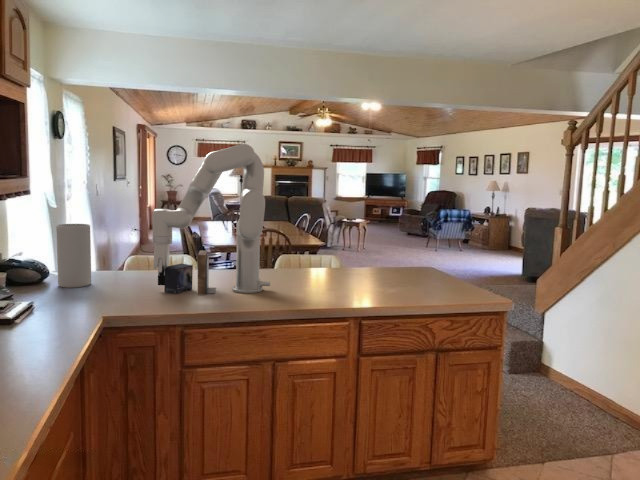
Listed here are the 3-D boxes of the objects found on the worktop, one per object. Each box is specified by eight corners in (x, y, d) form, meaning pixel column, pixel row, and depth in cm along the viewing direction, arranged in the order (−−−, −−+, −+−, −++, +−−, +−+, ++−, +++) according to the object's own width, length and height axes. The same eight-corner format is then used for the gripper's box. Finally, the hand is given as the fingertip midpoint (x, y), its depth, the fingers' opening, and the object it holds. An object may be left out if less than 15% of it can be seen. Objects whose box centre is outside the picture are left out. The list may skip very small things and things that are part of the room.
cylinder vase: (78, 289, 204) (76, 227, 201) (51, 286, 206) (49, 225, 203) (97, 283, 216) (96, 224, 213) (71, 280, 218) (70, 223, 215)
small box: (176, 294, 200) (176, 268, 199) (163, 292, 203) (163, 266, 202) (193, 289, 210) (193, 264, 209) (180, 287, 213) (180, 263, 211)
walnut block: (207, 288, 214) (207, 250, 212) (205, 294, 202) (205, 255, 200) (199, 288, 213) (200, 250, 211) (197, 294, 201) (197, 255, 199)
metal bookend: (215, 288, 214) (216, 255, 212) (214, 294, 203) (214, 259, 201) (207, 288, 213) (207, 255, 211) (205, 294, 202) (205, 259, 201)
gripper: (155, 237, 209) (155, 280, 211) (149, 242, 195) (149, 288, 197) (174, 237, 210) (174, 281, 213) (169, 242, 196) (169, 289, 198)
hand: (162, 284), depth 205 cm, fingers closed
